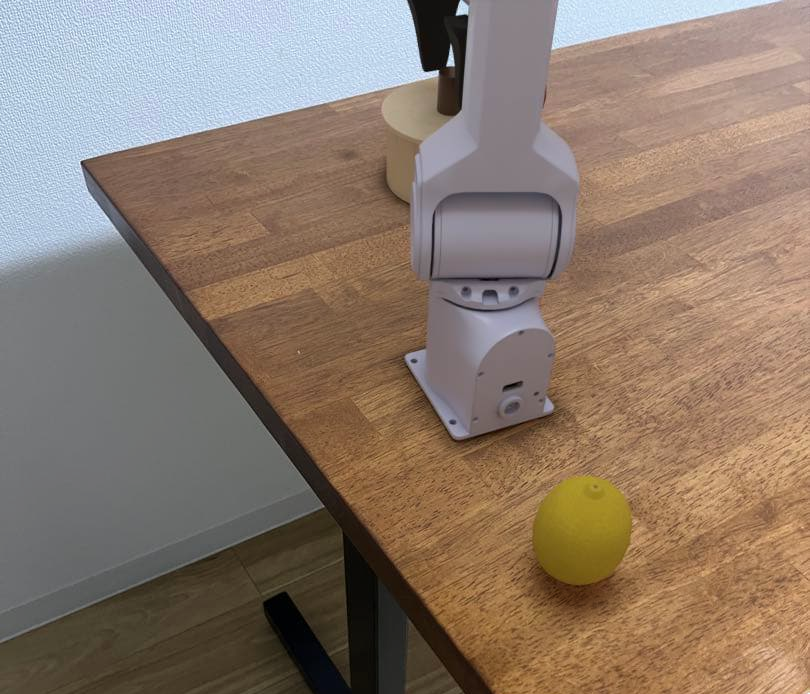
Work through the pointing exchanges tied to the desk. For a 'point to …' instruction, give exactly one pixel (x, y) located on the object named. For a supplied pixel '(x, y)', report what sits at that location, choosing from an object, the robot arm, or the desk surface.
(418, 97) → the lid
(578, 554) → the lemon
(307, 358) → the desk surface
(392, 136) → the pot
